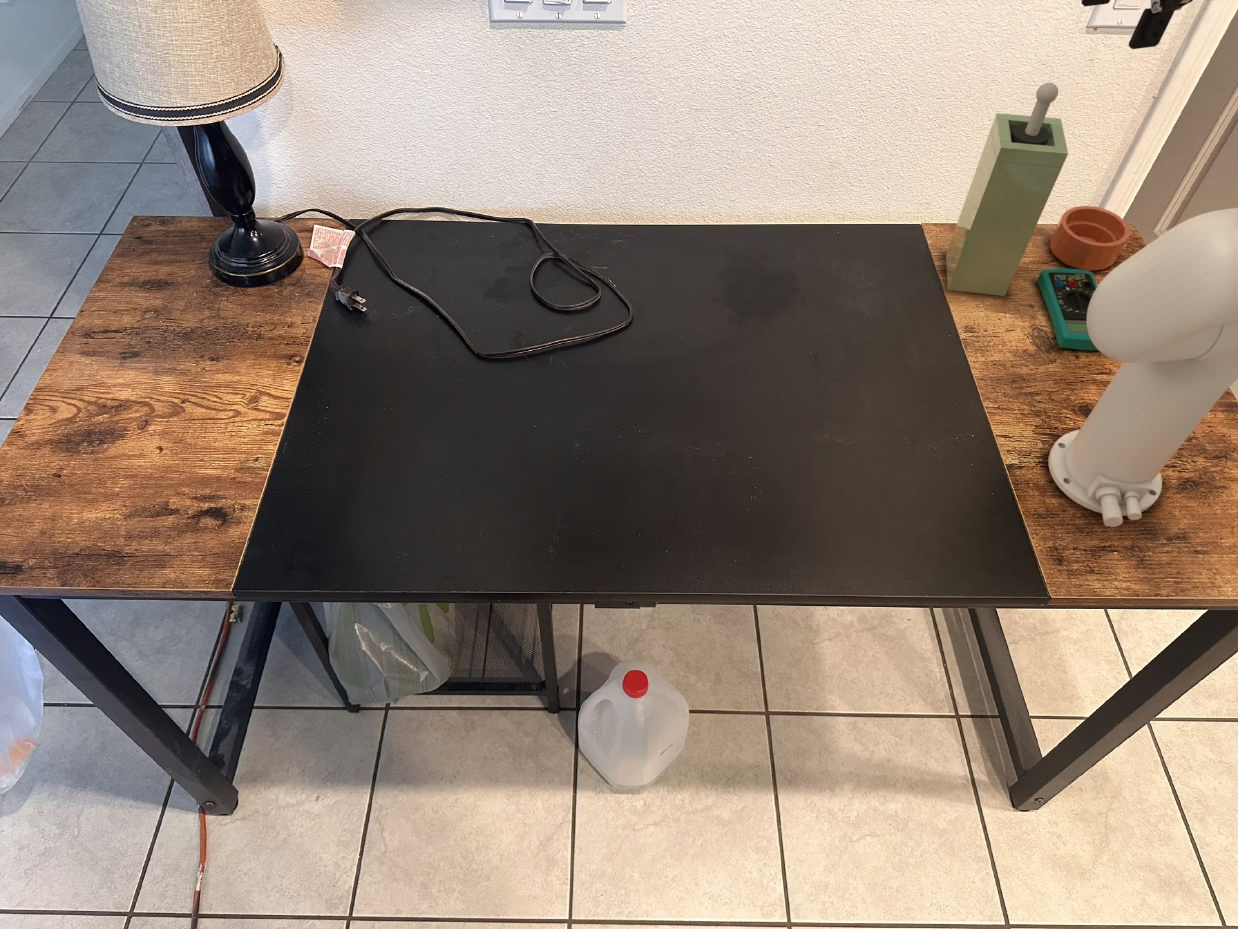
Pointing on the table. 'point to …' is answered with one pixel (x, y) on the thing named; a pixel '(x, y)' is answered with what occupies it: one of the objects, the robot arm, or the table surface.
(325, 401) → the table surface
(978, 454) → the table surface
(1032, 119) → the stopper
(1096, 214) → the basin bowl
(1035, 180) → the green tall hollow block
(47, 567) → the table surface
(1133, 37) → the robot arm
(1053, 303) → the digital multimeter
